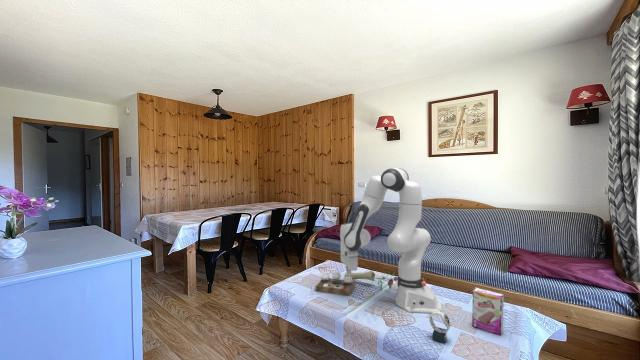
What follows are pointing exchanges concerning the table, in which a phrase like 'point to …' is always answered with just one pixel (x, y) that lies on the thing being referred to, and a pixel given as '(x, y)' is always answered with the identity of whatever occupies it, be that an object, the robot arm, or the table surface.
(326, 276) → the outer button
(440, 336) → the watch
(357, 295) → the table surface
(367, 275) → the flower vase
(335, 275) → the middle button
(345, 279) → the inner button
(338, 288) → the button board
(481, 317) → the candy bar box
